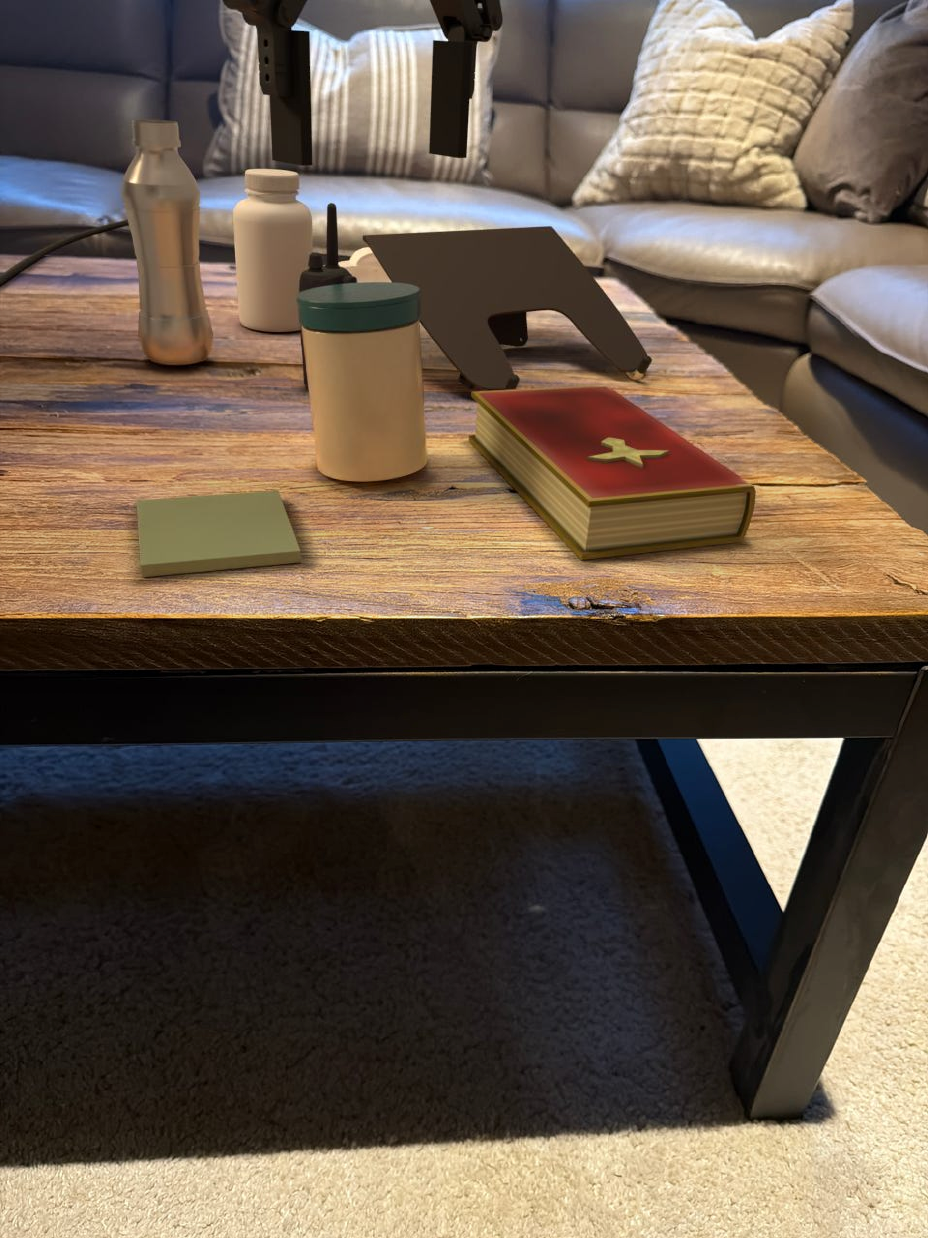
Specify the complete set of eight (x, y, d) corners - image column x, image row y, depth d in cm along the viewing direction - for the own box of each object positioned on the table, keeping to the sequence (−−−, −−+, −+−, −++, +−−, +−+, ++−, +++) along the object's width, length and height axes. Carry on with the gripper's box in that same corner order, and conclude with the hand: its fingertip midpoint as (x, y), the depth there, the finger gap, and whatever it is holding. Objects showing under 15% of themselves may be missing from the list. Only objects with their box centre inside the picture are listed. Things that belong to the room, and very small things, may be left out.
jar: (313, 452, 72) (295, 293, 67) (418, 441, 73) (408, 285, 68) (321, 486, 65) (302, 313, 60) (436, 474, 66) (427, 303, 61)
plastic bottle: (230, 362, 90) (213, 124, 79) (173, 378, 85) (148, 126, 74) (183, 348, 92) (161, 117, 82) (126, 363, 88) (95, 118, 77)
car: (408, 281, 124) (410, 243, 122) (421, 292, 119) (422, 253, 117) (317, 282, 121) (316, 243, 118) (326, 293, 116) (325, 253, 113)
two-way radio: (333, 373, 88) (331, 199, 81) (372, 383, 87) (373, 205, 79) (294, 387, 84) (288, 204, 77) (334, 398, 82) (331, 212, 75)
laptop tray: (451, 460, 87) (482, 385, 80) (346, 295, 96) (366, 214, 89) (637, 424, 99) (679, 356, 92) (528, 280, 108) (558, 207, 101)
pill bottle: (328, 322, 104) (326, 172, 96) (287, 338, 98) (281, 178, 90) (267, 311, 107) (261, 164, 99) (223, 326, 100) (212, 170, 93)
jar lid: (295, 312, 67) (292, 287, 67) (410, 303, 69) (408, 278, 68) (303, 335, 60) (300, 306, 59) (431, 324, 62) (430, 296, 61)
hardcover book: (603, 430, 79) (610, 380, 77) (746, 541, 62) (760, 481, 60) (468, 440, 76) (471, 387, 73) (581, 560, 59) (589, 497, 57)
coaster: (137, 511, 61) (136, 500, 61) (278, 501, 64) (278, 489, 63) (142, 577, 54) (140, 565, 53) (301, 562, 56) (300, 550, 56)
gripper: (219, -418, 38) (250, 175, 49) (583, -260, 54) (545, 159, 65) (117, -380, 42) (167, 158, 53) (484, -244, 58) (463, 147, 69)
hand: (375, 159), depth 59 cm, fingers open, 12 cm apart
